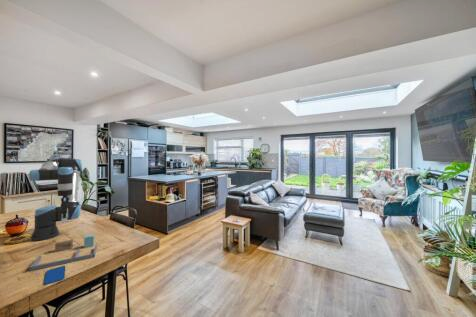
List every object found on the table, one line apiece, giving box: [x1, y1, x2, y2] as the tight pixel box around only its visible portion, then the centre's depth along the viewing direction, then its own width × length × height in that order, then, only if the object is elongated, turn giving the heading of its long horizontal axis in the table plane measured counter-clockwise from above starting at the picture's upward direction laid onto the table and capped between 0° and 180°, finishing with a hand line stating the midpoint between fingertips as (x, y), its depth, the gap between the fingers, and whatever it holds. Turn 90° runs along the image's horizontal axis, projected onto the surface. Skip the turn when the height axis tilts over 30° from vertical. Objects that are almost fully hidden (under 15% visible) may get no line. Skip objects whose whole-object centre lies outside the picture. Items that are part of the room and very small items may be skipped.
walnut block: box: [54, 239, 74, 253], centre depth 124 cm, size 4×8×5 cm, turn 122°
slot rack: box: [28, 244, 98, 272], centre depth 113 cm, size 14×28×2 cm, turn 122°
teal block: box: [83, 233, 95, 249], centre depth 129 cm, size 5×5×7 cm
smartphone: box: [43, 265, 66, 286], centre depth 96 cm, size 7×1×15 cm
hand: (64, 220), depth 128 cm, fingers open, 13 cm apart
